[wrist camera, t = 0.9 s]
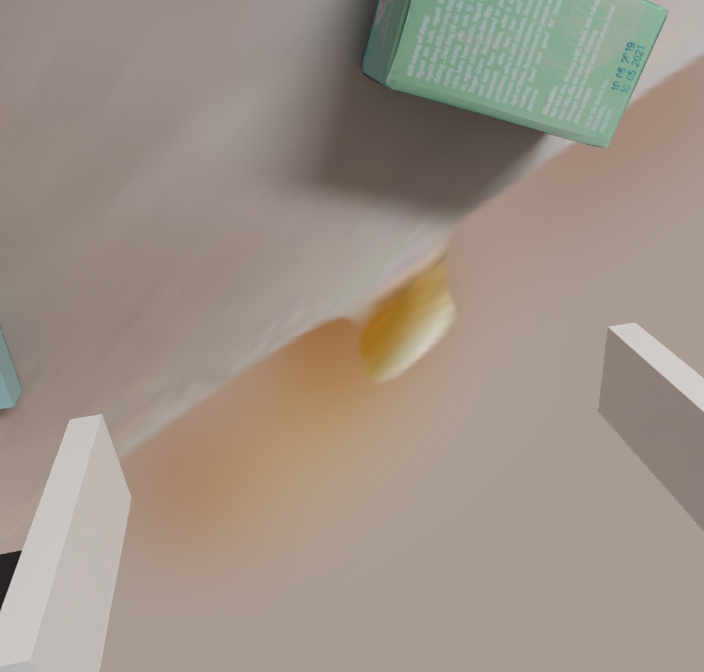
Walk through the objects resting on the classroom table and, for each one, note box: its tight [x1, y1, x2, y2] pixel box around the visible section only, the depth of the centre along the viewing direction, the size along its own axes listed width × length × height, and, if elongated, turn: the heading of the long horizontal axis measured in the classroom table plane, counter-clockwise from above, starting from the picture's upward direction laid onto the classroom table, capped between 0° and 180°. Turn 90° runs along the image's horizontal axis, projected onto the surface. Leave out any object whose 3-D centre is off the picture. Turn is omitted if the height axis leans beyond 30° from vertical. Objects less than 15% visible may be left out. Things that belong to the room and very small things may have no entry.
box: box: [362, 0, 668, 148], centre depth 35 cm, size 7×14×8 cm, turn 75°
